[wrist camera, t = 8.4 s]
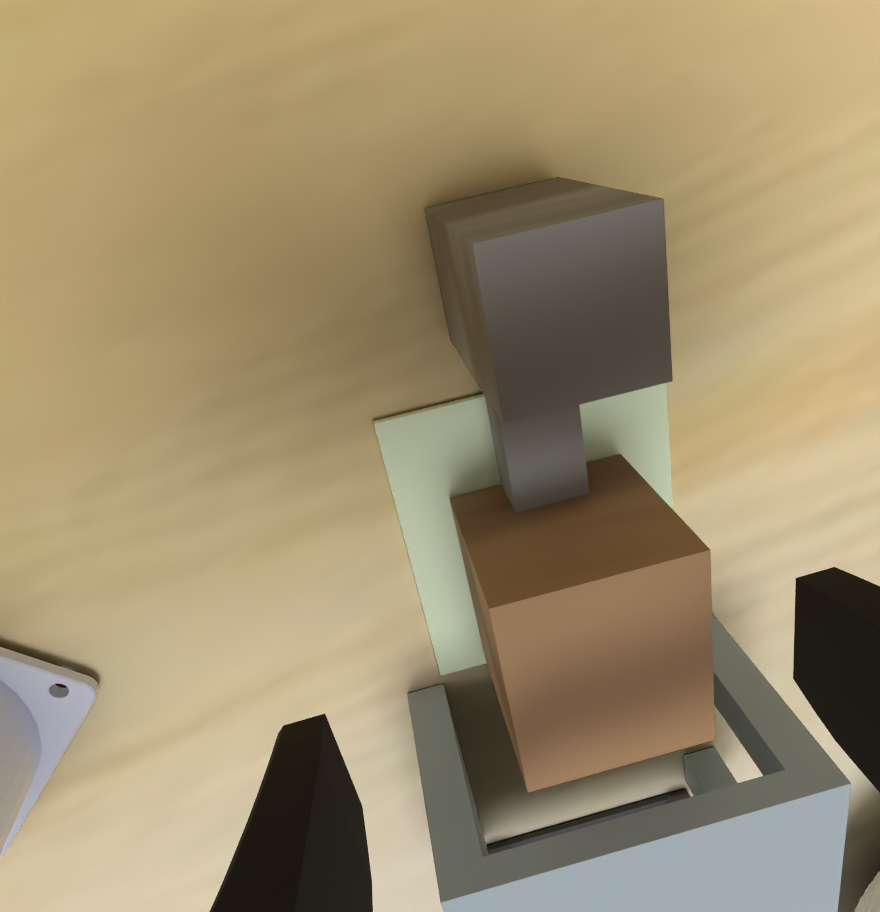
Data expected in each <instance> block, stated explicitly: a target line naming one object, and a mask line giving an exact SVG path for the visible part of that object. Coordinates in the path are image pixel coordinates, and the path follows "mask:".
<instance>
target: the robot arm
mask: <svg viewBox="0 0 880 912" xmlns="http://www.w3.org/2000/svg"><path fill="white" fill-rule="evenodd" d="M793 679H794V680H795V682H796V683H797V685H798V686H799V688H800V690H801V691H802V693H803V694H804V696H805V697H806V699H807V700H808V702H809V703H810V705H811V706H812V708H813V709H814V711H815V712H816V714H817V715H818V717H819V718H820V719H821V721H822V722H823V724H824V725H825V726H826V728H827V729H828V731H829V732H830V734H831V735H832V736H833V738H834V739H835V741H836V742H837V743H838V744H839V745H840V747H841V748H842V749H843V750H844V751H845V753H846V754H847V755H848V756H849V757H850V758H851V760H852V761H853V762H854V763H855V764H856V765H857V767H858V768H859V769H860V770H861V771H862V772H863V774H864V775H865V776H866V777H867V778H868V779H869V781H870V782H871V783H872V784H873V785H874V786H875V788H876V789H877V790H878V791H879V792H880V586H877V585H875V584H873V583H871V582H868V581H866V580H864V579H861V578H859V577H857V576H854V575H852V574H850V573H847V572H845V571H843V570H840V569H838V568H835V567H833V568H830V569H826V570H823V571H819V572H816V573H812V574H809V575H805V576H802V577H798V578H796V596H795V633H794V671H793ZM55 684H63V685H65V686H67V688H61V687H58V686H56V685H55ZM98 690H99V686H98V683H97V682H96V681H95V680H94V679H93V678H91V677H89V676H87V675H84V674H81V673H78V672H75V671H72V670H69V669H66V668H63V667H60V666H57V665H54V664H51V663H48V662H45V661H42V660H39V659H36V658H33V657H30V656H27V655H24V654H21V653H17V652H14V651H11V650H8V649H5V648H2V647H0V858H1V857H2V856H3V855H4V854H5V852H6V851H7V849H8V847H9V845H10V844H11V842H12V840H13V839H14V837H15V835H16V834H17V832H18V830H19V828H20V827H21V825H22V823H23V822H24V820H25V818H26V817H27V815H28V813H29V811H30V810H31V808H32V806H33V805H34V803H35V801H36V800H37V798H38V796H39V795H40V793H41V791H42V789H43V788H44V786H45V784H46V783H47V781H48V779H49V778H50V776H51V774H52V772H53V771H54V769H55V767H56V766H57V764H58V762H59V761H60V759H61V757H62V756H63V754H64V752H65V750H66V749H67V747H68V745H69V744H70V742H71V740H72V739H73V737H74V735H75V733H76V732H77V730H78V728H79V727H80V725H81V723H82V722H83V720H84V718H85V716H86V715H87V713H88V711H89V710H90V708H91V706H92V705H93V703H94V701H95V699H96V696H97V694H98ZM210 912H373V906H372V879H371V871H370V863H369V854H368V846H367V839H366V831H365V824H364V816H363V809H362V805H361V802H360V800H359V797H358V795H357V792H356V790H355V787H354V785H353V782H352V780H351V777H350V775H349V772H348V770H347V767H346V765H345V762H344V760H343V757H342V755H341V752H340V750H339V747H338V745H337V742H336V740H335V738H334V735H333V733H332V730H331V728H330V725H329V723H328V720H327V718H326V715H325V714H322V715H319V716H315V717H312V718H308V719H305V720H301V721H298V722H294V723H291V724H287V725H284V726H283V727H282V729H281V730H280V732H279V733H278V736H277V739H276V742H275V745H274V748H273V751H272V754H271V757H270V760H269V763H268V766H267V769H266V772H265V775H264V778H263V781H262V783H261V786H260V789H259V792H258V794H257V797H256V800H255V803H254V805H253V808H252V811H251V813H250V816H249V819H248V821H247V824H246V826H245V829H244V831H243V834H242V836H241V839H240V841H239V844H238V846H237V849H236V851H235V854H234V856H233V858H232V861H231V863H230V866H229V868H228V871H227V873H226V876H225V878H224V881H223V883H222V885H221V888H220V890H219V892H218V894H217V897H216V899H215V901H214V903H213V906H212V908H211V910H210Z"/></svg>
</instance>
